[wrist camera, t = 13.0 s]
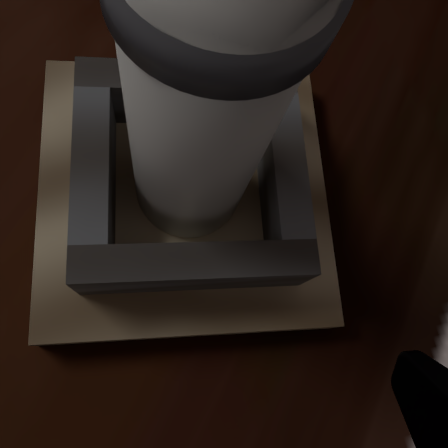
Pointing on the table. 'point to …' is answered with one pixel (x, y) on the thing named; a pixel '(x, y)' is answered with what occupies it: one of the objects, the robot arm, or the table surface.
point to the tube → (210, 95)
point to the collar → (165, 243)
